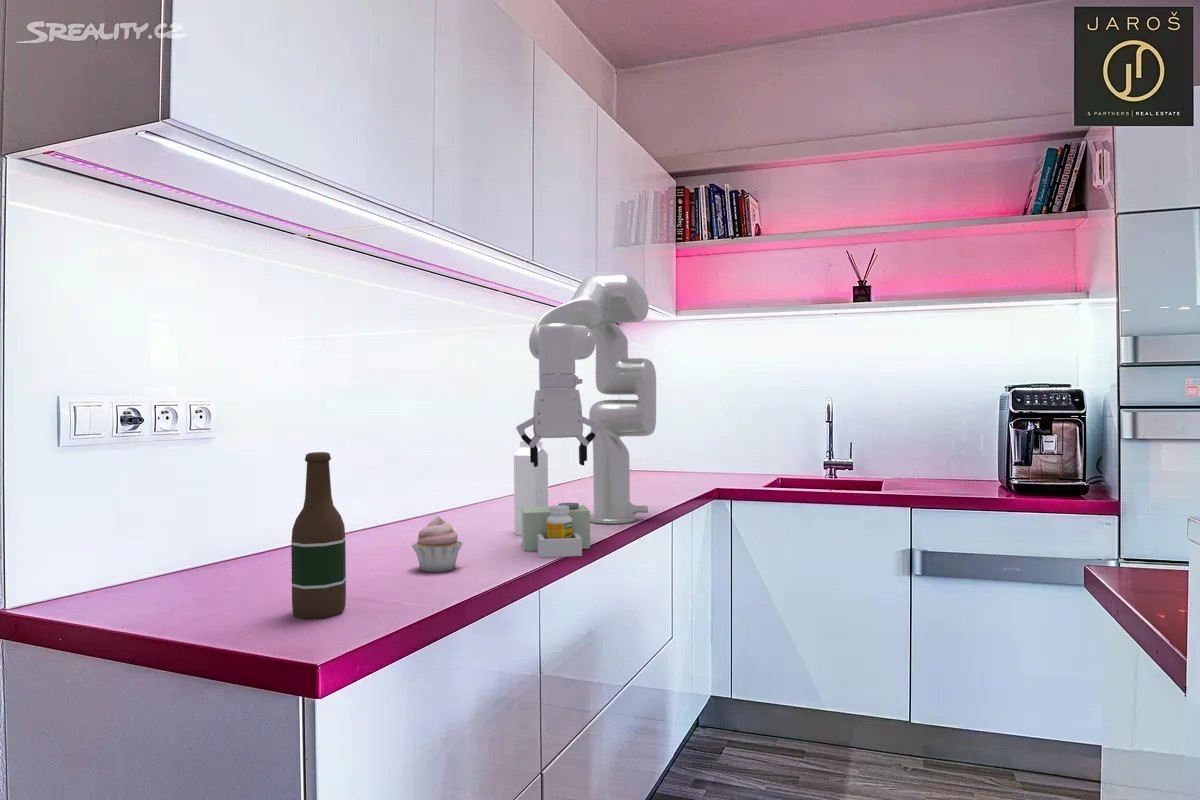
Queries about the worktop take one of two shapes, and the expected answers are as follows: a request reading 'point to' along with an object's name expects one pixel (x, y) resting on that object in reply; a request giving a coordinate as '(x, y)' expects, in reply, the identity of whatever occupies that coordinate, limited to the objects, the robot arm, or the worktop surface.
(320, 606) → the beer bottle
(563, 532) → the supplement bottle
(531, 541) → the green box with tray
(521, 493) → the milk
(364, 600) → the worktop surface
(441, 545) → the cupcake
